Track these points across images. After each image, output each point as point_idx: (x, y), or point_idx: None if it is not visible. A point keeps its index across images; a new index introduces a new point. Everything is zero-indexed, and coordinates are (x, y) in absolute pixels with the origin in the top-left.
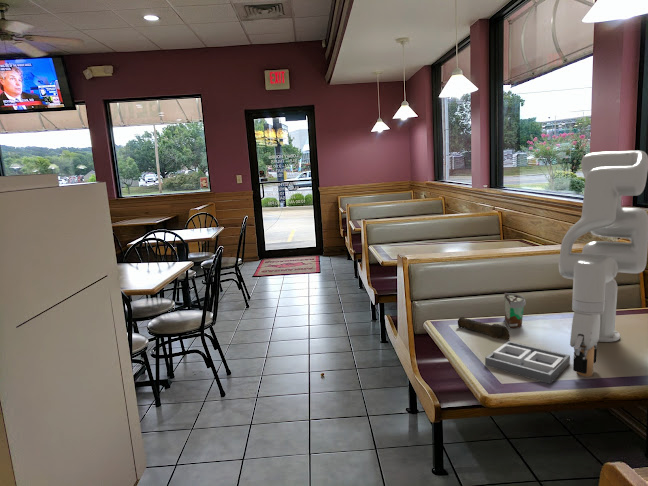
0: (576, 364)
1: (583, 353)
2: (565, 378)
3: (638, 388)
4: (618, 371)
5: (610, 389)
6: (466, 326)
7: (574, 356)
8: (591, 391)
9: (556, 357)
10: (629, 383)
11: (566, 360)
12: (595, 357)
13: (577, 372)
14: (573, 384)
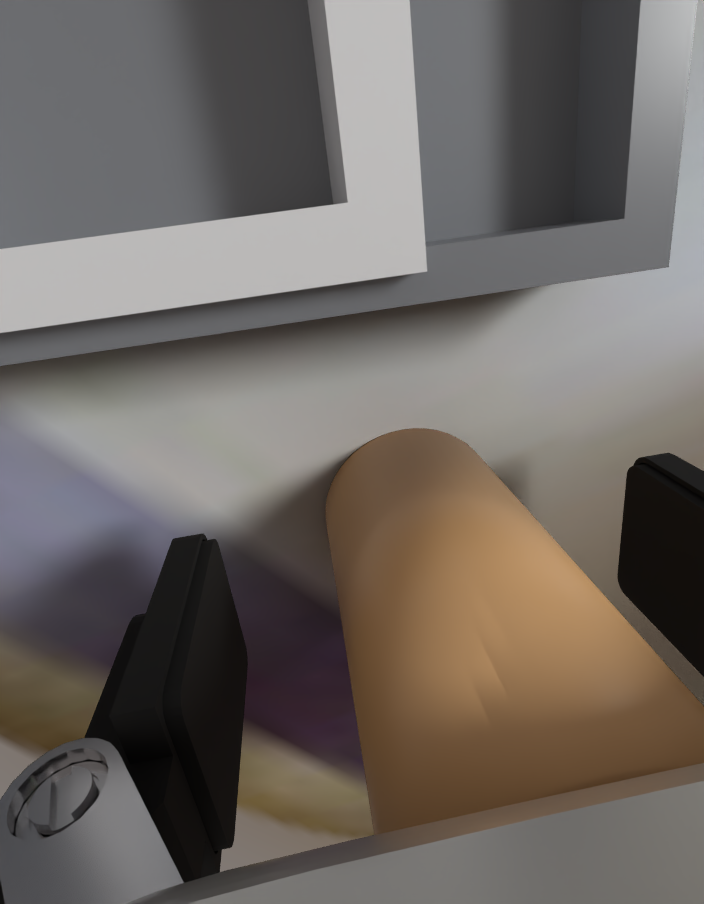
0: (112, 677)
1: (370, 801)
2: (101, 435)
3: None
4: None
5: (239, 772)
6: None
7: (8, 811)
8: (53, 718)
9: (350, 148)
10: None
11: (472, 291)
12: (674, 634)
13: (345, 473)
14: (35, 562)
